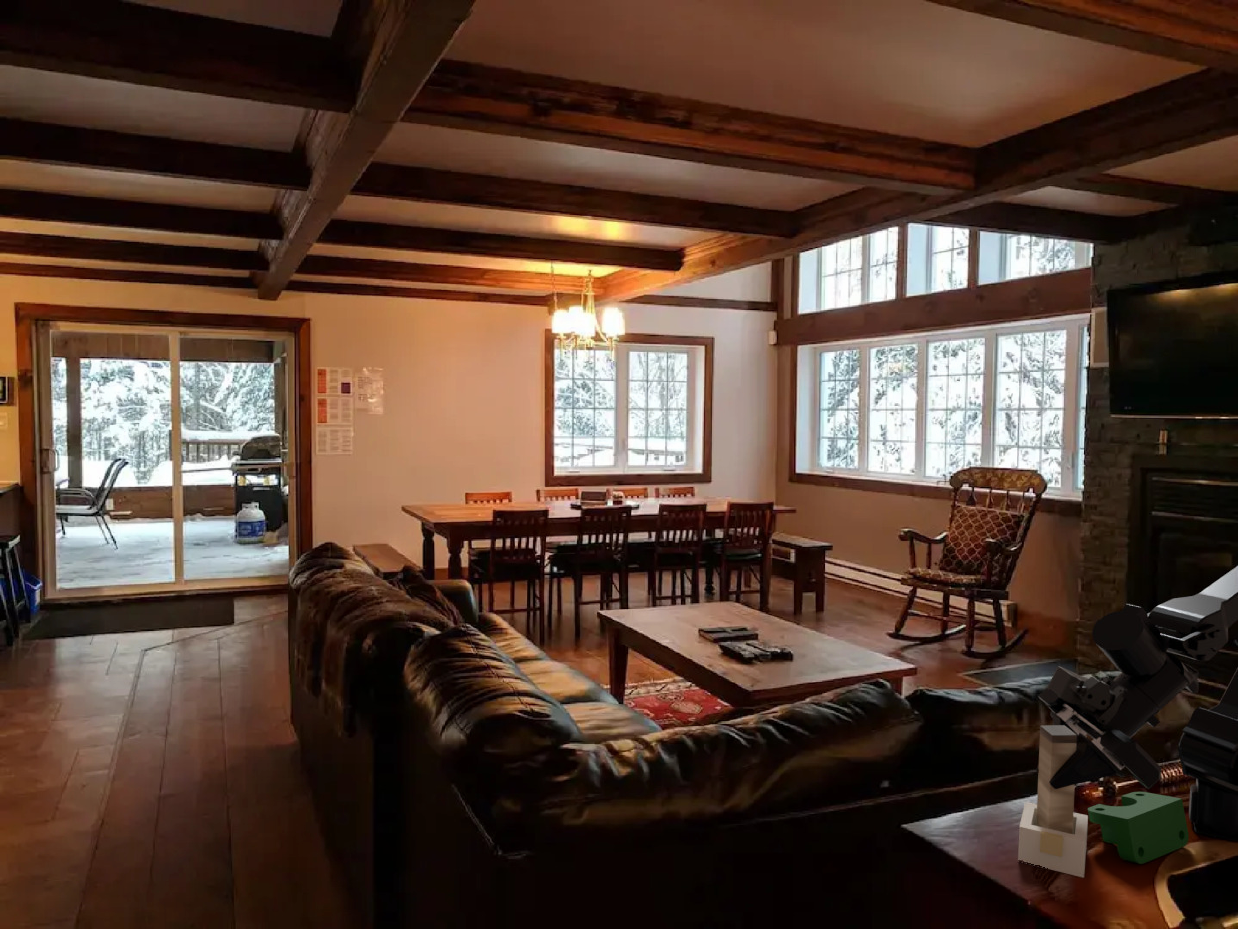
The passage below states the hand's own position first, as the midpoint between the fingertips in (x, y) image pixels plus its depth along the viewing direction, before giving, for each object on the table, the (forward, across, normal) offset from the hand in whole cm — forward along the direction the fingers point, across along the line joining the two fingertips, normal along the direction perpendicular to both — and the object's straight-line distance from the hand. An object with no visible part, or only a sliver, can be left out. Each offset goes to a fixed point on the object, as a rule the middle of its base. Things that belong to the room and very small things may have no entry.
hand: (1045, 779), depth 108 cm
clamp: (-2, -2, +17) cm, 17 cm away
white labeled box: (+6, 0, +8) cm, 10 cm away
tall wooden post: (+4, 0, +6) cm, 7 cm away
